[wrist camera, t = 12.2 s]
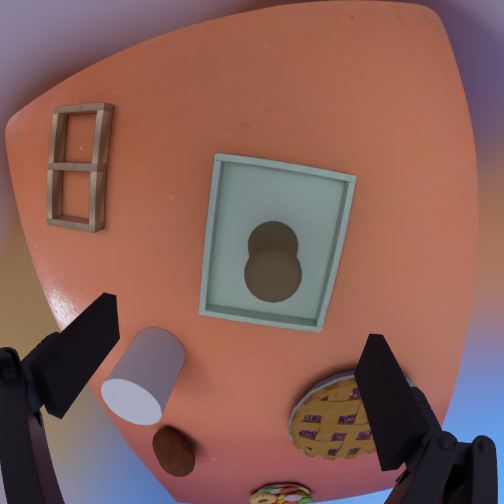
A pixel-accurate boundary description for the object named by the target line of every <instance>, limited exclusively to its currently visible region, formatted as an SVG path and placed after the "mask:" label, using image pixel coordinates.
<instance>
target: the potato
mask: <svg viewBox="0 0 504 504" xmlns="http://www.w3.org/2000/svg"><path fill="white" fill-rule="evenodd" d="M152 444H153V449H154V453H155V455H156V457H157V458H158V461H159V463H160V465H161V467H162V468H163V469H164V470H165V471H166V472H167V473H169V474H171V475H173V476H177V477H184V476H186V475H188V474H190V473H191V472H192V471H193V468H194V465H195V455H194V453H193V451H192V449H191V448H190V447H189V445H188V444H187V443H186V441H185V440H184V439H183V438H182V437H181V436H180V435H179V434H178V433H176V432H175V431H174V430H172V429H169V428H164V429H161V430H159V431H158V432H157V433H156V434H155V435H154V437H153V443H152Z"/></svg>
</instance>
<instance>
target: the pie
mask: <svg viewBox="0 0 504 504" xmlns="http://www.w3.org/2000/svg"><path fill="white" fill-rule="evenodd" d="M354 373H355V370H352V371H347V372H342V373H337V374H334V375H332V376H330V377H328V378H326V379H324V380H322V381H319V382H317V383H315V385H314V386H313V387H312V388H311V389H310V390H309V391H308V392H307V393H306V395H305V396H304V397H303V398H302V400H301V401H300V402H299V403H298V404H297V405H296V406H295V407H294V409H293V411H292V414H291V417H290V420H289V423H288V430H289V434H290V438H291V441H292V442H293V445H294V446H295V447H296V448H297V449H301V450H302V451H303V452H305V454H306V455H308V456H311V457H315V456H320V457H323V458H325V459H328V460H334V459H335V458H338V457H344V458H345V459H350V458H354V457H355V456H357V455H358V454H362V453H368V454H369V453H372V452H374V451H376V447H375V444H374V440H373V436H372V433H371V429H370V426H369V422H368V419H367V416H366V412H365V409H364V406H363V402H362V399H361V396H360V393H359V389H358V386H357V383H356V380H355V377H354ZM406 380H407V382H408V384H409V386H410V387H414V386H413V384H412V382H411V380H409V379H407V378H406Z"/></svg>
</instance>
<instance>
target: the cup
mask: <svg viewBox="0 0 504 504" xmlns="http://www.w3.org/2000/svg"><path fill="white" fill-rule="evenodd" d="M184 360H185V351H184V348H183V346H182V344H181V343H180V341H179V340H178V339H177V338H176V337H175V336H174V335H172V334H171V333H169V332H167V331H165V330H163V329H159V328H147V329H144V330H142V331H141V332H140V333H139V334H138V335H137V336H136V338H135V339H134V341H133V342H132V343H131V345H130V346H129V348H128V349H127V350H126V352H125V353H124V355H123V356H122V357H121V359H120V360H119V362H118V363H117V365H116V366H115V367H114V369H113V370H112V372H111V373H110V375H109V376H108V378H107V379H106V381H105V382H104V383H103V385H102V388H101V393H102V397H103V399H104V401H105V403H106V404H107V405H108V407H109V408H110V409H111V410H112V411H113V412H114V413H116V414H117V415H118V416H120V417H121V418H123V419H125V420H127V421H129V422H132V423H135V424H139V425H152V424H155V423H157V422H158V421H159V420H160V418H161V416H162V414H163V411H164V409H165V406H166V404H167V401H168V399H169V396H170V394H171V392H172V389H173V387H174V384H175V382H176V380H177V377H178V375H179V372H180V370H181V368H182V365H183V363H184Z"/></svg>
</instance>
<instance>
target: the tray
mask: <svg viewBox="0 0 504 504" xmlns="http://www.w3.org/2000/svg"><path fill="white" fill-rule="evenodd" d="M356 178H357V176H355V175H350V174H345V173H340V172H336V171H331V170H325V169H320V168H315V167H309V166H304V165H298V164H292V163H286V162H280V161H273V160H267V159H260V158H253V157H245V156H238V155H229V154H221V153H215V158H214V165H213V173H212V181H211V190H210V198H209V207H208V216H207V225H206V235H205V245H204V255H203V266H202V278H201V290H200V303H199V315H204V316H210V317H215V318H221V319H227V320H233V321H239V322H246V323H252V324H259V325H266V326H273V327H280V328H287V329H295V330H303V331H311V332H321V330H322V327H323V323H324V320H325V316H326V312H327V309H328V305H329V301H330V297H331V294H332V290H333V286H334V282H335V278H336V274H337V270H338V265H339V261H340V257H341V253H342V248H343V244H344V239H345V234H346V230H347V225H348V220H349V215H350V210H351V205H352V200H353V194H354V189H355V183H356ZM268 221H279V222H282V223H284V224H286V225H288V226H289V227H290V228H291V229H292V230H293V231H294V233H295V234H296V236H297V240H298V253H297V259H298V260H299V262H300V264H301V269H302V280H301V283H300V285H299V287H298V289H297V291H296V292H295V293H294V294H293V295H292V296H291V297H290V298H288V299H286V300H284V301H281V302H276V303H271V302H265V301H262V300H259V299H258V298H256V297H255V296H254V295H252V294H251V292H250V291H249V289H248V288H247V286H246V283H245V279H244V268H245V265H246V263H247V260H248V258H249V252H248V239H249V237H250V234H251V232H252V231H253V230H254V229H255V228H256V227H257V226H259V225H260V224H262V223H264V222H268Z"/></svg>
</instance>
